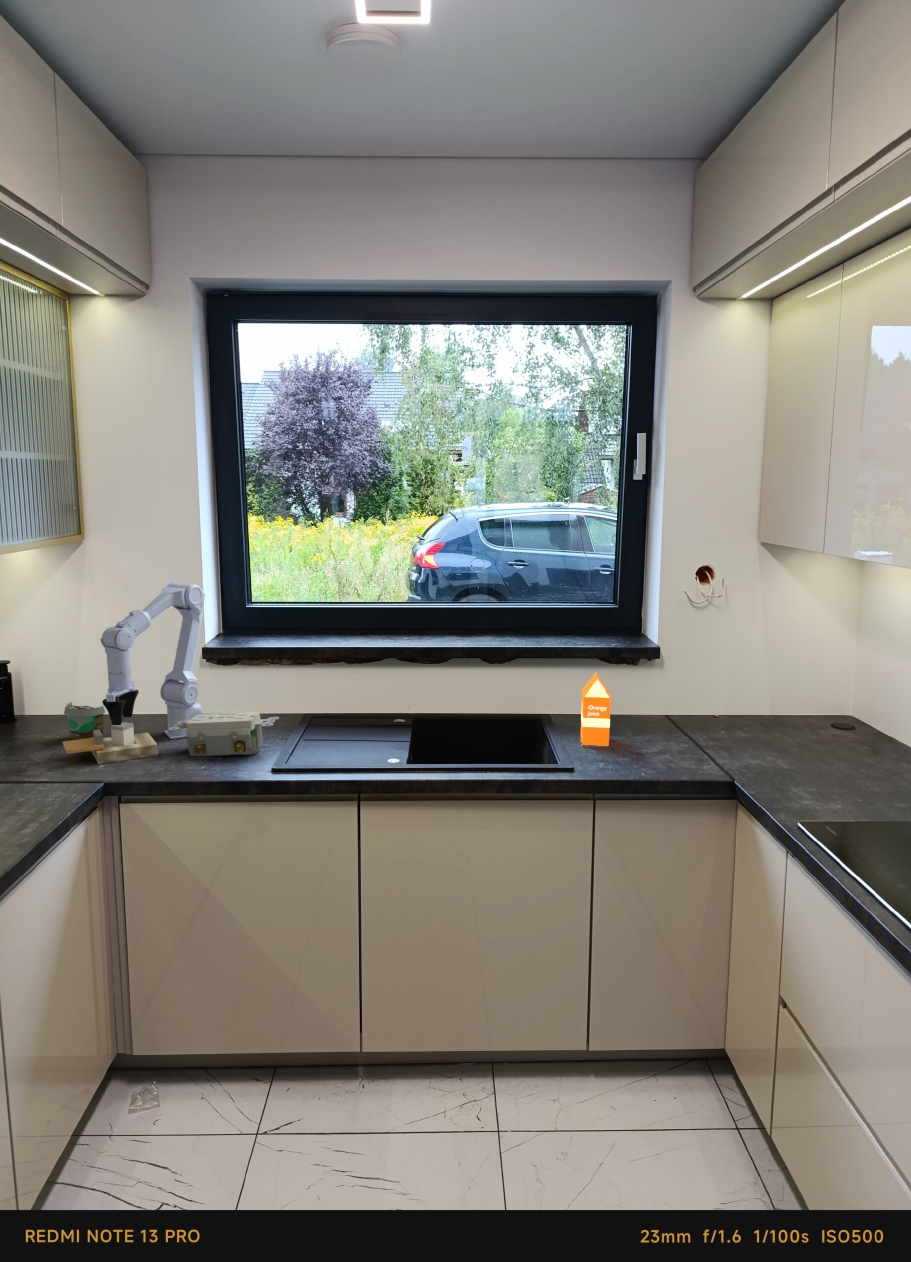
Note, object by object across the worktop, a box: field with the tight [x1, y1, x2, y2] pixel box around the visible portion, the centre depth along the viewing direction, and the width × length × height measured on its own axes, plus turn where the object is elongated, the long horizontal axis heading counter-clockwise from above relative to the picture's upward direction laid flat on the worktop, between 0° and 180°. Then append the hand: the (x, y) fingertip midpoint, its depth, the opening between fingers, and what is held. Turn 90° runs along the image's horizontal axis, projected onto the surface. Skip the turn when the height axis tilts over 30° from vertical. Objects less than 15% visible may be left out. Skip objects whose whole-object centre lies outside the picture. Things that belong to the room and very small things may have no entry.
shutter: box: [62, 729, 104, 755], centre depth 222 cm, size 9×9×3 cm
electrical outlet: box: [167, 711, 280, 757], centre depth 230 cm, size 12×28×10 cm, turn 87°
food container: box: [63, 702, 106, 741], centre depth 237 cm, size 12×6×10 cm, turn 71°
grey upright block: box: [110, 721, 135, 747], centre depth 227 cm, size 4×4×8 cm
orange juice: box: [580, 672, 612, 746], centre depth 240 cm, size 8×9×20 cm
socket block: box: [90, 731, 159, 765], centre depth 228 cm, size 15×13×3 cm
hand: (122, 721), depth 226 cm, fingers open, 7 cm apart
